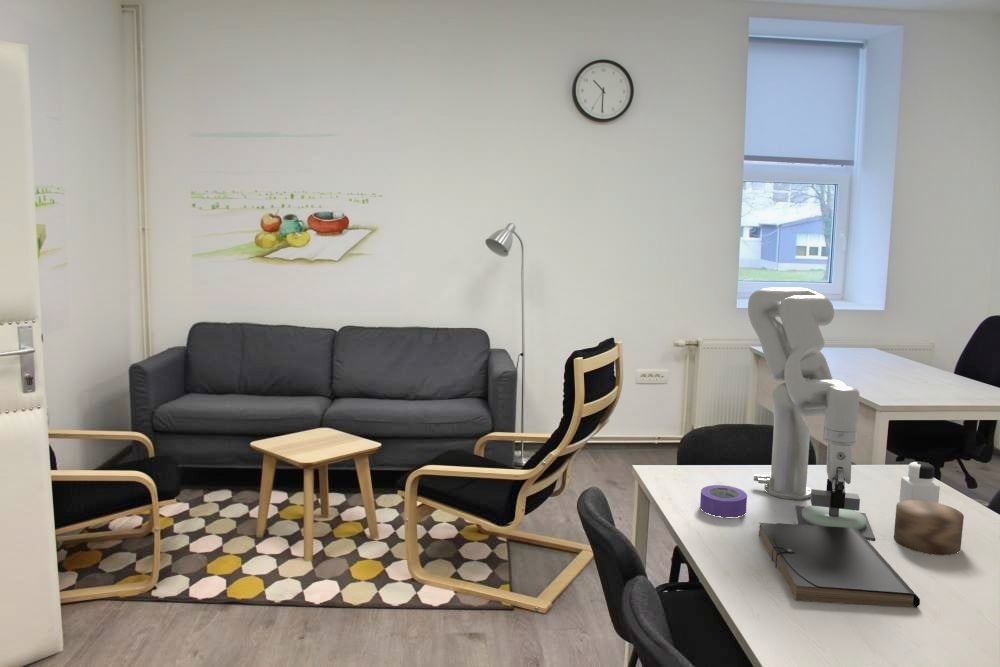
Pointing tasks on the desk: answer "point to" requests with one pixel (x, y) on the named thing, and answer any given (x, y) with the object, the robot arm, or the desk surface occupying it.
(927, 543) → the canister
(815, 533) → the file folder
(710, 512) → the tape roll
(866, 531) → the mat
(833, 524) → the cover
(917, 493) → the medicine bottle
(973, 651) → the desk surface
